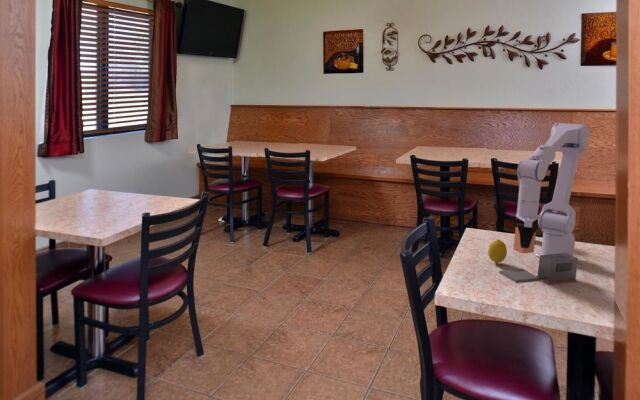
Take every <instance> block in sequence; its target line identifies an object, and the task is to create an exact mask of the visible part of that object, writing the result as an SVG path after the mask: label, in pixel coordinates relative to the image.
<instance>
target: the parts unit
mask: <svg viewBox="0 0 640 400" xmlns="http://www.w3.org/2000/svg"><path fill="white" fill-rule="evenodd" d="M538 258H539V259H538V260H539V261H538V269H537V275H536V276H537V277H539V280H540V281H542V282H544V283H546V284H547V285H556V284H558V285H559V284H565V283H566V284H567V283H574V282H577V281H578V279H577V271H578V270H577V269H578V261H579V258H578V257H577V256H576V257H575V256H574V255H573V256H572V255H569V254H567V253H560V254H549V255H540V257H538Z"/></svg>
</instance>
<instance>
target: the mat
mask: <svg viewBox="0 0 640 400" xmlns="http://www.w3.org/2000/svg"><path fill="white" fill-rule="evenodd" d="M498 271H499V274H501V275H502V276H504V277H505V278H507V279H509V280H511V281H513V282H515V283H521V282H531V281H532V282H533V281H539V280H540V279H539V277H537V276H538V275H535V274H533V273H531V272H529V271H528V270H526V269H524V268H516V269H505V270H498Z"/></svg>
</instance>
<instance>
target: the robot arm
mask: <svg viewBox="0 0 640 400" xmlns="http://www.w3.org/2000/svg"><path fill="white" fill-rule="evenodd" d="M590 136H591V135H590V128H589V126H588V124H586V123H583V124H582V123H581V124H580V123H577V124H576V123H564V122H555V123H554V124H553V125H552V126H551V130H550V137H549V138H548V140H547V141H546V142H545V144H540V145H539V146H538V147H537V148H536V149H535V151H534V152H533V153H532V154H530V156H529V157H528V158H524V159H522V160H520V162H519V163H518V165H517V169H516V174H517V183H518V185H519V187H518V198H517V208H516V213H515V217H516V218H515V221H516V227H518V230H519V233H520V244H521V248H529V246H530V243H531V240H532V237H533V235H534V233H535V231H536V232H537V231H538V228H540V231H541V232H542V242H541V252H540V253H535V254H534V256H536V257H538V258H540V255H549V254H560V253H567V254H569V255H572V256H574V253H575V245H576V244H575V243H576V239H575V236H574V234H573V232H574V229H575V227H576V217H577V216H576V214H577V213H576V210H575V209H574V208H573V207H572V206H571V205H570V198H571V194H572V190H573V185H574V182H575V176H576V174H577V173H576V172H577V168H578V163H579V160H580V156H581V154H583V153H585V152H586V150H587V147H588V144H589V139H590ZM557 151H560V152H561V154H562V156H561V160H560V165H559V169H558V174H557V179H556V183H555V186H554V187H555V188H554V191H553V196H552V200H551V201H550V202H548V203H546V204H544V205H542V207H541V208H542V209H541V210H540V213H539V215H538V207H539V204H540V196H541V195H540V194H541V185H542V181H543V180H544V178H545V177H546V174H547V172H548V169H549V166H550V165H551V163H553V161H554V160H555V159H556V157H557V155H556V152H557ZM537 219H538V223H537V226H533V225H534V223H535V222H536V220H537Z"/></svg>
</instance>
